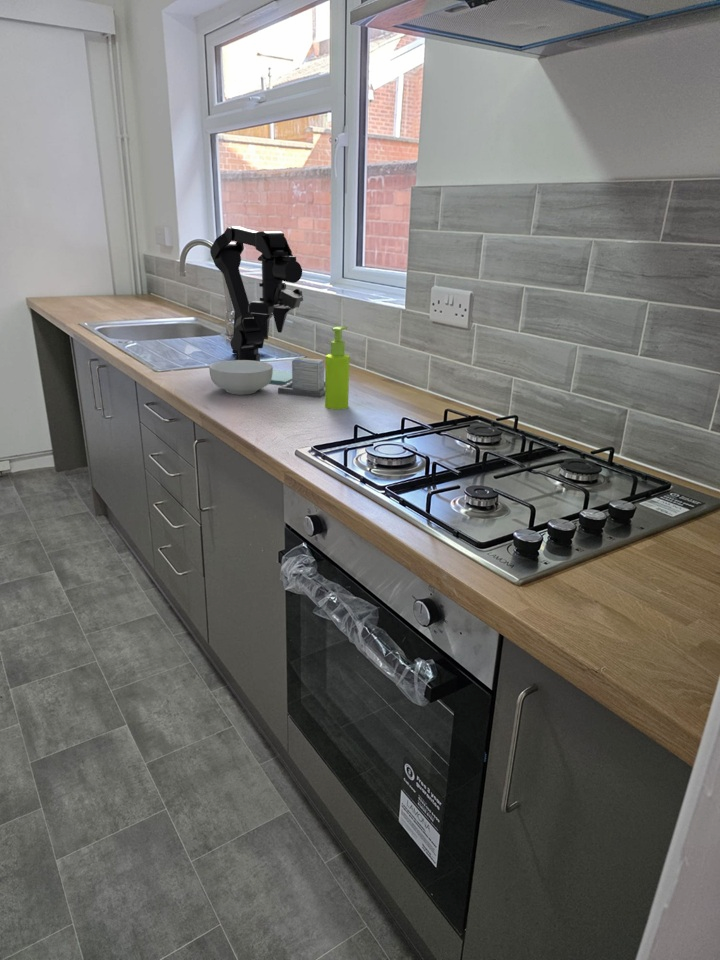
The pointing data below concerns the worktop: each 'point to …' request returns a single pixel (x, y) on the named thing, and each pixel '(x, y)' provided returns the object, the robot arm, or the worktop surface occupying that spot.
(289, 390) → the hollow square frame
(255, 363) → the cereal bowl
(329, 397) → the soap dispenser
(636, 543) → the worktop surface
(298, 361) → the medicine box
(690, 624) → the worktop surface
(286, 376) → the board
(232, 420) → the worktop surface
